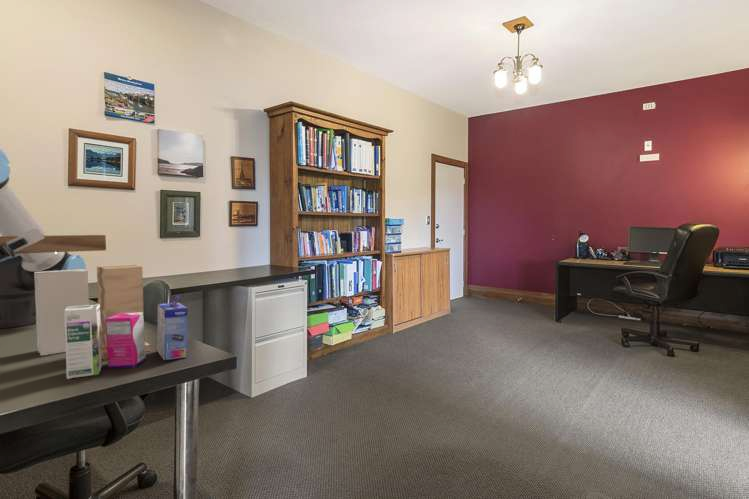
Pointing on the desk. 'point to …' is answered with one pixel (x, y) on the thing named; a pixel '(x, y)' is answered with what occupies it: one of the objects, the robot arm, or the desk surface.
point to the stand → (119, 295)
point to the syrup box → (82, 340)
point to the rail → (62, 243)
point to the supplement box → (125, 340)
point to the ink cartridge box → (172, 330)
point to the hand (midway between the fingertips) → (39, 233)
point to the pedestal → (57, 305)
